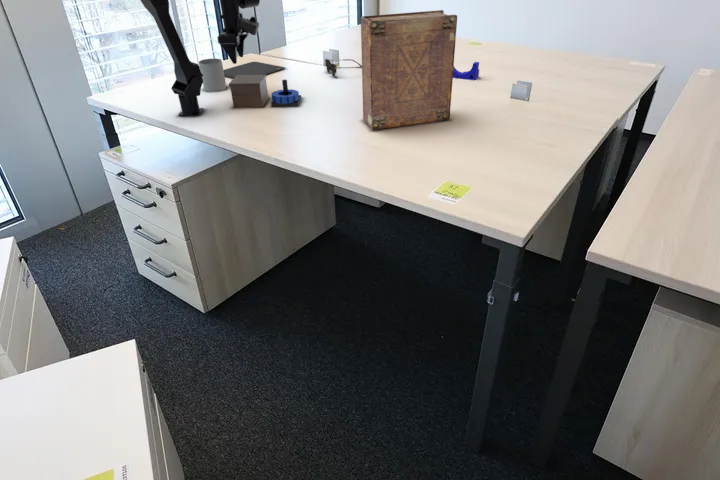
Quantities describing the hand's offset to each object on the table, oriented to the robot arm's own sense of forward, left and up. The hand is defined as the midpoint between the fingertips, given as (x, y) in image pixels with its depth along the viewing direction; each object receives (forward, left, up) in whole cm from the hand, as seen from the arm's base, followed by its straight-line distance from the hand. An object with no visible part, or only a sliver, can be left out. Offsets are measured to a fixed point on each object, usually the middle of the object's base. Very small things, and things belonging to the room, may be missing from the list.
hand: (238, 60), depth 165 cm
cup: (+12, +14, -13) cm, 23 cm away
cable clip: (+23, -81, -13) cm, 85 cm away
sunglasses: (+32, -36, -13) cm, 50 cm away
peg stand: (-6, -16, -13) cm, 22 cm away
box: (-6, -4, -13) cm, 15 cm away
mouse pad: (+36, +6, -13) cm, 39 cm away
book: (-25, -57, -13) cm, 64 cm away
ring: (-7, -16, -12) cm, 21 cm away
